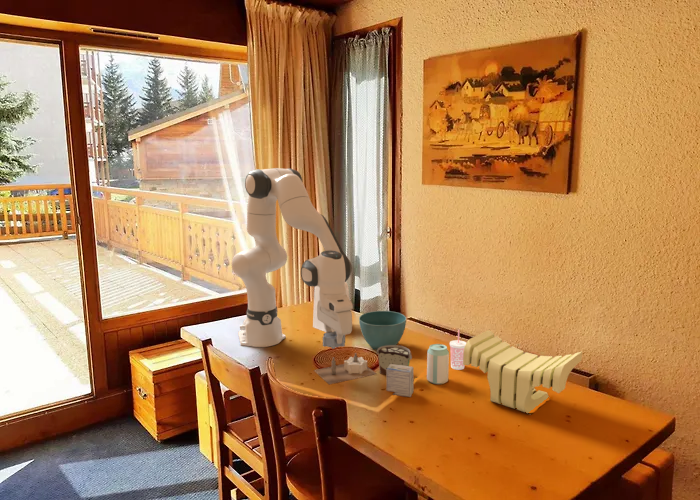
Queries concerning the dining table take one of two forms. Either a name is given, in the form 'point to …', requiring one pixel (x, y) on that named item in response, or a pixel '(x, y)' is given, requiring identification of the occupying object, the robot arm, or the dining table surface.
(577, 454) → the dining table surface
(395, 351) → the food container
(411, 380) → the medicine box
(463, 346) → the beverage cup
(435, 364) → the can
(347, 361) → the cream gear
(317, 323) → the milk
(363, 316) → the teal bowl
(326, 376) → the gear board
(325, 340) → the blue gear
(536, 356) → the slatted curved stool
